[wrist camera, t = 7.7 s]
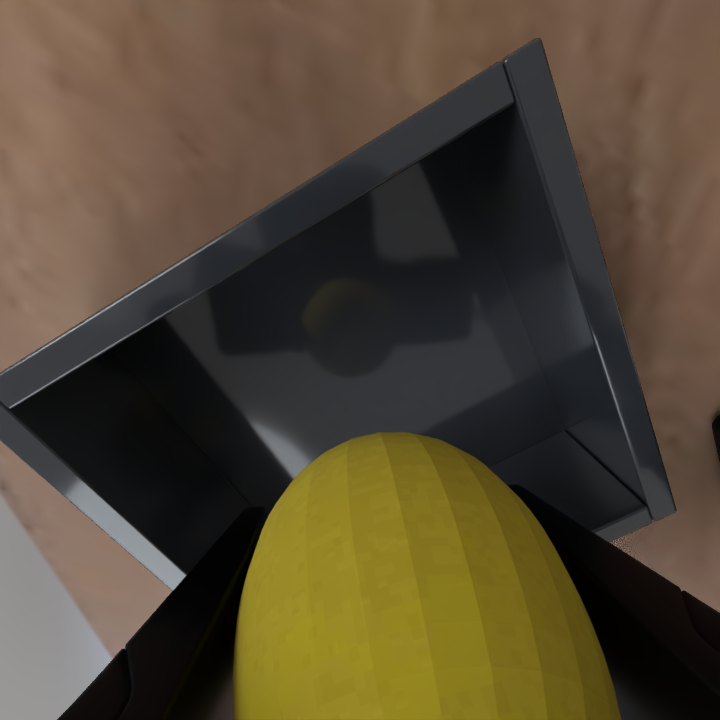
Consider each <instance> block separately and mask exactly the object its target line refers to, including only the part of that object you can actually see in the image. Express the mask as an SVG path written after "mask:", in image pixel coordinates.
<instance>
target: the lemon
mask: <svg viewBox="0 0 720 720" xmlns="http://www.w3.org/2000/svg"><path fill="white" fill-rule="evenodd" d="M233 706H234V720H621V716H620V712H619V707H618V703H617V699H616V694H615V690H614V686H613V683H612V680H611V677H610V673H609V670H608V667H607V664H606V661H605V657H604V654H603V652H602V649H601V646H600V644H599V641H598V638H597V636H596V633H595V630H594V628H593V625H592V623H591V620H590V618H589V616H588V613H587V611H586V609H585V607H584V604H583V602H582V600H581V597H580V595H579V593H578V591H577V589H576V587H575V585H574V584H573V582H572V580H571V578H570V576H569V574H568V572H567V570H566V568H565V566H564V564H563V562H562V560H561V559H560V557H559V555H558V553H557V551H556V549H555V547H554V546H553V544H552V542H551V541H550V539H549V537H548V536H547V534H546V532H545V531H544V529H543V527H542V526H541V525H540V523H539V522H538V520H537V519H536V518H535V516H534V515H533V513H532V512H531V511H530V509H529V508H528V507H527V506H526V505H525V504H524V502H523V501H522V500H521V499H520V498H519V497H518V496H517V495H516V494H515V493H514V492H513V491H512V490H511V489H510V488H509V487H508V486H507V485H506V484H505V483H504V482H503V481H502V480H501V479H500V478H499V477H497V476H496V475H495V474H494V473H493V472H492V471H491V470H490V469H489V468H488V467H487V466H486V465H484V464H483V463H482V462H480V461H479V460H478V459H476V458H475V457H474V456H472V455H470V454H468V453H466V452H464V451H462V450H460V449H458V448H456V447H454V446H452V445H450V444H448V443H446V442H444V441H442V440H440V439H436V438H431V437H427V436H422V435H417V434H413V433H408V432H378V433H374V434H369V435H365V436H361V437H357V438H353V439H350V440H348V441H346V442H344V443H342V444H340V445H338V446H336V447H334V448H331V449H329V450H327V451H326V452H325V453H323V454H322V455H320V456H319V457H318V458H317V459H315V460H314V461H313V462H312V463H311V464H309V465H308V466H307V467H306V468H304V469H303V470H302V471H301V472H300V473H299V474H298V475H297V476H296V477H295V478H294V479H293V481H292V482H291V483H290V485H289V486H288V488H287V489H286V490H285V492H284V493H283V494H282V496H281V497H280V499H279V500H278V501H277V503H276V504H275V506H274V507H273V509H272V511H271V512H270V514H269V516H268V518H267V520H266V522H265V525H264V527H263V529H262V531H261V534H260V537H259V540H258V543H257V546H256V549H255V552H254V555H253V558H252V560H251V563H250V566H249V569H248V572H247V575H246V578H245V582H244V586H243V590H242V594H241V599H240V605H239V610H238V616H237V623H236V634H235V644H234V665H233Z"/></svg>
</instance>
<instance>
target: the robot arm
mask: <svg viewBox="0 0 720 720" xmlns="http://www.w3.org/2000/svg"><path fill="white" fill-rule="evenodd" d="M712 428H713V433H714V438H715V443H716V447H717V452H718V457H719V462H720V415H719V416H717V417H716V418H715V420H714V421H713V423H712ZM507 486H508V487H509V488H510V489H511V490H512V491H513V492H514V493H515V494H516V495H517V496H518V497H519V498H520V499H521V500H522V501H523V502H524V504H525V505H526V506H527V507H528V508H529V509H530V511H531V512H532V513H533V515H534V516H535V518H536V519H537V520H538V522H539V523H540V525H541V526H542V527H543V529H544V531H545V532H546V534H547V536H548V537H549V539H550V541H551V542H552V544H553V546H554V547H555V549H556V551H557V553H558V555H559V557H560V559H561V560H562V562H563V564H564V566H565V568H566V570H567V572H568V574H569V576H570V578H571V580H572V582H573V584H574V585H575V587H576V589H577V591H578V593H579V595H580V597H581V600H582V602H583V604H584V607H585V609H586V611H587V613H588V616H589V618H590V620H591V623H592V625H593V628H594V630H595V633H596V636H597V638H598V641H599V644H600V646H601V649H602V652H603V654H604V657H605V661H606V664H607V667H608V670H609V673H610V677H611V680H612V683H613V686H614V690H615V694H616V699H617V703H618V707H619V712H620V716H621V720H720V613H719V612H717V611H716V610H714V609H713V608H711V607H709V606H708V605H706V604H705V603H703V602H702V601H700V600H698V599H697V598H695V597H694V596H692V595H691V594H689V593H687V592H686V591H681V589H680V588H679V587H678V586H676V585H675V584H673V583H672V582H670V581H669V580H667V579H665V578H664V577H662V576H661V575H659V574H658V573H656V572H655V571H653V570H651V569H650V568H648V567H647V566H645V565H644V564H642V563H640V562H639V561H637V560H636V559H634V558H633V557H631V556H630V555H628V554H626V553H625V552H623V551H622V550H620V549H619V548H617V547H616V546H614V545H612V544H611V543H609V542H608V541H606V540H605V539H603V538H602V537H600V536H598V535H597V534H595V533H594V532H592V531H591V530H589V529H587V528H586V527H584V526H583V525H581V524H580V523H578V522H577V521H575V520H573V519H572V518H570V517H569V516H567V515H566V514H564V513H563V512H561V511H559V510H558V509H556V508H555V507H553V506H552V505H550V504H549V503H547V502H545V501H544V500H542V499H541V498H539V497H538V496H536V495H534V494H533V493H531V492H530V491H528V490H527V489H525V488H524V487H522V486H520V485H518V484H511V485H507ZM266 520H267V513H266V509H265V507H264V506H252V507H247V508H245V509H244V510H243V511H242V512H241V514H240V515H239V516H238V517H237V518H236V519H235V520H234V522H233V523H232V524H231V525H230V526H229V527H228V528H227V530H226V531H225V532H224V533H223V534H222V535H221V536H220V538H219V539H218V540H217V541H216V542H215V543H214V544H213V546H212V547H211V548H210V549H209V550H208V551H207V552H206V554H205V555H204V556H203V557H202V558H201V559H200V560H199V562H198V563H197V564H196V565H195V566H194V567H193V568H192V570H191V571H190V572H189V573H188V574H187V575H186V576H185V578H184V579H183V580H182V581H181V582H180V583H179V584H178V586H177V587H176V588H175V589H174V590H173V591H172V592H171V594H170V595H169V596H168V597H167V598H166V599H165V600H164V602H163V603H162V604H161V605H160V606H159V607H158V608H157V610H156V611H155V612H154V613H153V614H152V615H151V616H150V618H149V619H148V620H147V621H146V622H145V623H144V624H143V626H142V627H141V628H140V629H139V630H138V631H137V632H136V634H135V635H134V636H133V637H132V638H131V639H130V640H129V642H128V643H127V644H126V646H125V648H126V650H125V649H121V650H120V652H119V653H118V654H117V655H116V656H115V657H114V658H113V660H112V661H111V662H110V663H109V664H108V666H106V668H105V669H104V670H103V671H102V672H101V673H100V674H99V675H98V677H97V678H96V679H95V680H94V681H93V682H92V683H91V684H90V685H89V686H88V687H87V689H86V690H85V691H84V692H83V693H82V694H81V695H80V696H79V697H78V698H77V700H76V701H75V702H74V703H73V704H72V705H71V706H70V707H69V708H68V709H67V710H66V711H65V712H64V713H63V714H62V715H61V716H60V717H59V718H58V719H57V720H234V706H233V665H234V644H235V634H236V623H237V616H238V610H239V605H240V599H241V594H242V590H243V586H244V582H245V578H246V575H247V572H248V569H249V566H250V563H251V560H252V558H253V555H254V552H255V549H256V546H257V543H258V540H259V537H260V534H261V531H262V529H263V527H264V525H265V522H266Z"/></svg>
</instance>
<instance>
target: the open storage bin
mask: <svg viewBox="0 0 720 720" xmlns="http://www.w3.org/2000/svg"><path fill="white" fill-rule="evenodd" d="M378 432H408V433H413V434H417V435H422V436H427V437H431V438H436V439H440V440H442V441H444V442H446V443H448V444H450V445H452V446H454V447H456V448H458V449H460V450H462V451H464V452H466V453H468V454H470V455H472V456H474V457H475V458H476V459H478V460H479V461H480V462H482V463H483V464H484V465H486V466H487V467H488V468H489V469H490V470H491V471H492V472H493V473H494V474H495V475H496V476H497V477H499V478H500V479H501V480H502V481H503V482H504V483H505V484H506V485H511V484H518V485H520V486H522V487H524V488H525V489H527V490H528V491H530V492H531V493H533V494H534V495H536V496H538V497H539V498H541V499H542V500H544V501H545V502H547V503H549V504H550V505H552V506H553V507H555V508H556V509H558V510H559V511H561V512H563V513H564V514H566V515H567V516H569V517H570V518H572V519H573V520H575V521H577V522H578V523H580V524H581V525H583V526H584V527H586V528H587V529H589V530H591V531H592V532H594V533H595V534H597V535H598V536H600V537H602V538H603V539H605V540H606V541H608V542H611V541H614V540H616V539H618V538H620V537H622V536H625V535H627V534H629V533H631V532H634V531H636V530H638V529H640V528H642V527H645V526H647V525H649V524H651V523H652V520H653V521H657V520H660V519H662V518H664V517H666V516H668V515H671V514H673V513H675V512H676V507H675V503H674V500H673V496H672V493H671V489H670V486H669V482H668V479H667V475H666V472H665V468H664V465H663V461H662V458H661V454H660V451H659V447H658V444H657V440H656V437H655V433H654V430H653V427H652V423H651V420H650V416H649V413H648V409H647V406H646V402H645V399H644V395H643V392H642V388H641V385H640V381H639V378H638V374H637V371H636V367H635V364H634V360H633V357H632V353H631V350H630V346H629V343H628V339H627V336H626V332H625V329H624V325H623V322H622V319H621V315H620V312H619V308H618V305H617V301H616V298H615V294H614V291H613V287H612V284H611V280H610V277H609V273H608V270H607V266H606V263H605V259H604V256H603V252H602V249H601V245H600V242H599V238H598V235H597V231H596V228H595V224H594V221H593V217H592V214H591V211H590V207H589V204H588V200H587V197H586V193H585V190H584V186H583V183H582V179H581V176H580V172H579V169H578V165H577V162H576V158H575V155H574V151H573V148H572V144H571V141H570V137H569V134H568V130H567V127H566V123H565V120H564V116H563V113H562V109H561V106H560V102H559V99H558V96H557V92H556V89H555V85H554V82H553V78H552V75H551V71H550V68H549V64H548V61H547V57H546V54H545V50H544V47H543V43H542V40H541V39H540V38H535V39H533V40H532V41H530V42H528V43H527V44H525V45H524V46H522V47H520V48H519V49H517V50H516V51H514V52H512V53H511V54H509V55H508V56H506V57H505V58H504V59H502V60H501V61H500V62H496V63H495V64H493V65H492V66H490V67H488V68H487V69H485V70H484V71H482V72H480V73H479V74H477V75H476V76H474V77H472V78H471V79H469V80H468V81H466V82H464V83H463V84H461V85H460V86H458V87H456V88H455V89H453V90H452V91H450V92H448V93H447V94H445V95H444V96H442V97H440V98H439V99H437V100H436V101H434V102H432V103H431V104H429V105H428V106H426V107H424V108H423V109H421V110H420V111H418V112H416V113H415V114H413V115H412V116H410V117H408V118H407V119H405V120H404V121H402V122H400V123H399V124H397V125H396V126H394V127H392V128H391V129H389V130H388V131H386V132H384V133H383V134H381V135H380V136H378V137H376V138H375V139H373V140H372V141H370V142H368V143H367V144H365V145H364V146H362V147H360V148H359V149H357V150H356V151H354V152H352V153H351V154H349V155H348V156H346V157H344V158H343V159H341V160H340V161H338V162H336V163H335V164H333V165H332V166H330V167H328V168H327V169H325V170H324V171H322V172H320V173H319V174H317V175H316V176H314V177H312V178H311V179H309V180H308V181H306V182H304V183H303V184H301V185H300V186H298V187H296V188H295V189H293V190H292V191H290V192H288V193H287V194H285V195H284V196H282V197H280V198H279V199H277V200H276V201H274V202H272V203H271V204H269V205H268V206H266V207H264V208H263V209H261V210H260V211H258V212H256V213H255V214H253V215H252V216H250V217H248V218H247V219H245V220H244V221H242V222H240V223H239V224H237V225H236V226H234V227H232V228H231V229H229V230H228V231H226V232H224V233H223V234H221V235H220V236H218V237H216V238H215V239H213V240H212V241H210V242H208V243H207V244H205V245H204V246H202V247H200V248H199V249H197V250H196V251H194V252H192V253H191V254H189V255H188V256H186V257H184V258H183V259H181V260H180V261H178V262H176V263H175V264H173V265H172V266H170V267H168V268H167V269H165V270H164V271H162V272H160V273H159V274H157V275H156V276H154V277H152V278H151V279H149V280H148V281H146V282H144V283H143V284H141V285H140V286H138V287H136V288H135V289H133V290H132V291H130V292H128V293H127V294H125V295H124V296H122V297H120V298H119V299H117V300H116V301H114V302H112V303H111V304H109V305H108V306H106V307H104V308H103V309H101V310H100V311H98V312H96V313H95V314H93V315H92V316H90V317H88V318H87V319H85V320H84V321H82V322H80V323H79V324H77V325H76V326H74V327H72V328H71V329H69V330H68V331H66V332H64V333H63V334H61V335H60V336H58V337H56V338H55V339H53V340H52V341H50V342H48V343H47V344H45V345H44V346H42V347H40V348H39V349H37V350H36V351H34V352H32V353H31V354H29V355H28V356H26V357H24V358H23V359H21V360H20V361H18V362H16V363H15V364H13V365H12V366H10V367H8V368H7V369H5V370H4V371H2V372H0V441H1V442H2V443H4V444H5V445H6V446H7V447H8V448H9V449H10V450H12V451H13V452H14V453H15V454H16V455H17V456H19V457H20V458H21V459H22V460H23V461H24V462H25V463H27V464H28V465H29V466H30V467H31V468H32V469H33V470H35V471H36V472H37V473H38V474H39V475H40V476H41V477H43V478H44V479H45V480H46V481H47V482H48V483H49V484H51V485H52V486H53V487H54V488H55V489H56V490H57V491H59V492H60V493H61V494H62V495H63V496H64V497H65V498H67V499H68V500H69V501H70V502H71V503H72V504H73V505H75V506H76V507H77V508H78V509H79V510H80V511H81V512H83V513H84V514H85V515H86V516H87V517H88V518H90V519H91V520H92V521H93V522H94V523H95V524H96V525H98V526H99V527H100V528H101V529H102V530H103V531H104V532H106V533H107V534H108V535H109V536H110V537H111V538H112V539H114V540H115V541H116V542H117V543H118V544H119V545H120V546H122V547H123V548H124V549H125V550H126V551H127V552H128V553H130V554H131V555H132V556H133V557H134V558H135V559H136V560H138V561H139V562H140V563H141V564H142V565H143V566H144V567H146V568H147V569H148V570H149V571H150V572H151V573H152V574H154V575H155V576H156V577H157V578H158V579H159V580H161V581H162V582H163V583H164V584H165V585H166V586H167V587H169V588H170V589H171V590H172V591H173V590H174V589H175V588H176V587H177V586H178V584H179V583H180V582H181V581H182V580H183V579H184V578H185V576H186V575H187V574H188V573H189V572H190V571H191V570H192V568H193V567H194V566H195V565H196V564H197V563H198V562H199V560H200V559H201V558H202V557H203V556H204V555H205V554H206V552H207V551H208V550H209V549H210V548H211V547H212V546H213V544H214V543H215V542H216V541H217V540H218V539H219V538H220V536H221V535H222V534H223V533H224V532H225V531H226V530H227V528H228V527H229V526H230V525H231V524H232V523H233V522H234V520H235V519H236V518H237V517H238V516H239V515H240V514H241V512H242V511H243V510H244V509H245V508H247V507H252V506H264V507H265V509H266V513H267V518H268V516H269V514H270V512H271V511H272V509H273V507H274V506H275V504H276V503H277V501H278V500H279V499H280V497H281V496H282V494H283V493H284V492H285V490H286V489H287V488H288V486H289V485H290V483H291V482H292V481H293V479H294V478H295V477H296V476H297V475H298V474H299V473H300V472H301V471H302V470H303V469H304V468H306V467H307V466H308V465H309V464H311V463H312V462H313V461H314V460H315V459H317V458H318V457H319V456H320V455H322V454H323V453H325V452H326V451H327V450H329V449H331V448H334V447H336V446H338V445H340V444H342V443H344V442H346V441H348V440H350V439H353V438H357V437H361V436H365V435H369V434H374V433H378Z"/></svg>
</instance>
